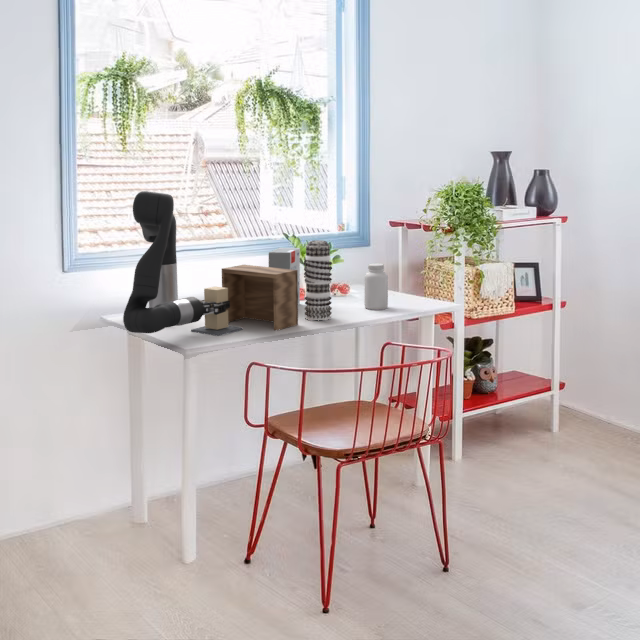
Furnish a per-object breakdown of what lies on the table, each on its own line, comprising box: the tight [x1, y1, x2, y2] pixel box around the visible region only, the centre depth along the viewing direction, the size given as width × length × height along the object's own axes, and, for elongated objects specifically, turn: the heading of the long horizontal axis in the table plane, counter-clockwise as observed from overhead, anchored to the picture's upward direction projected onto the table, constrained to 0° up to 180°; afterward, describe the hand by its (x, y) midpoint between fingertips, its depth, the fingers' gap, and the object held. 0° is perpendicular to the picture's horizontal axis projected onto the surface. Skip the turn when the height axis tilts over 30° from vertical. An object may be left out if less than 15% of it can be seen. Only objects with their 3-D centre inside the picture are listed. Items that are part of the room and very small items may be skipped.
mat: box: [190, 324, 244, 337], centre depth 291 cm, size 11×11×1 cm
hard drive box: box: [268, 247, 301, 305], centre depth 326 cm, size 16×8×20 cm, turn 168°
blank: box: [203, 286, 229, 330], centre depth 289 cm, size 5×5×12 cm
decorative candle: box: [303, 239, 333, 322], centre depth 306 cm, size 9×9×25 cm
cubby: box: [221, 264, 299, 331], centre depth 299 cm, size 11×22×17 cm, turn 54°
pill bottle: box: [364, 262, 389, 311], centre depth 324 cm, size 8×8×15 cm
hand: (221, 303), depth 291 cm, fingers closed on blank, 5 cm apart
